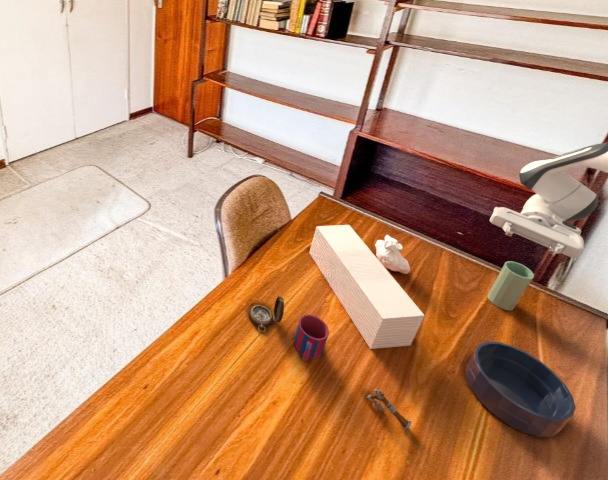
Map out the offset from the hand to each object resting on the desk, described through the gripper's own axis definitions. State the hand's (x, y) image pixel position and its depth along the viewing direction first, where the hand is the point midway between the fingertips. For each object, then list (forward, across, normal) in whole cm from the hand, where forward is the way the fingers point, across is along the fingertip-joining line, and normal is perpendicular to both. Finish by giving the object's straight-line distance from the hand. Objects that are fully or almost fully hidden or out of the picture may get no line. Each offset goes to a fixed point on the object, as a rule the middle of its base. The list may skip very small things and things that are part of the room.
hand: (529, 242), depth 112 cm
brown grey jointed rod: (+68, -9, +14) cm, 70 cm away
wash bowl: (+43, +7, +14) cm, 46 cm away
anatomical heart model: (+23, -26, +14) cm, 37 cm away
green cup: (+12, 0, +14) cm, 19 cm away
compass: (+70, -39, +14) cm, 81 cm away
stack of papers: (+42, -28, +14) cm, 53 cm away
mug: (+69, -28, +14) cm, 75 cm away
